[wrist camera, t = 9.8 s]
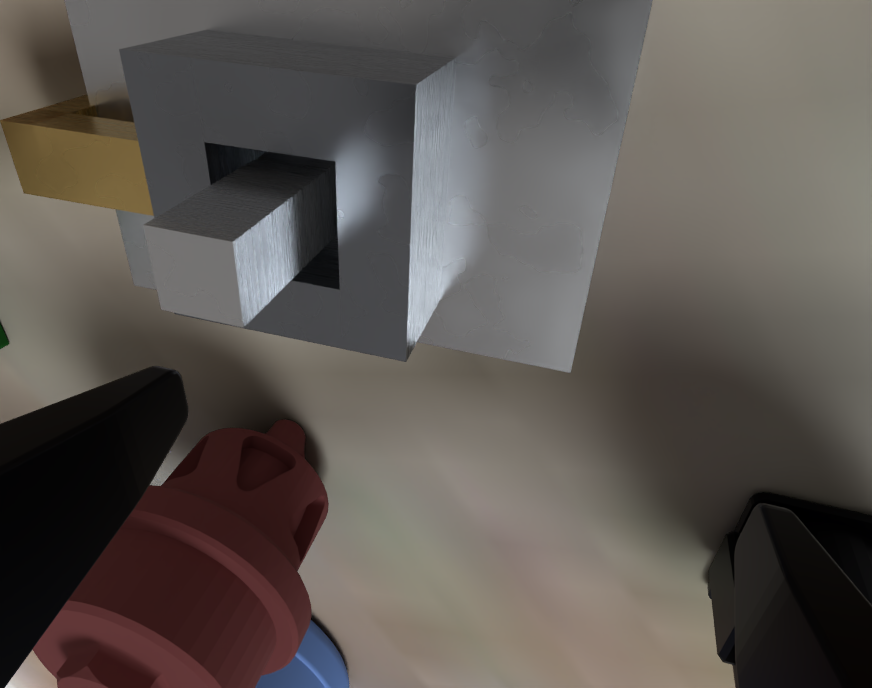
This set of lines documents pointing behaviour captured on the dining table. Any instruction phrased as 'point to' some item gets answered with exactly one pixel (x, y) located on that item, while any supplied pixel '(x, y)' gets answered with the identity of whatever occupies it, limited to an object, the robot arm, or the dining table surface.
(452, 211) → the square socket plate
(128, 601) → the mechanical component
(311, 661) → the water jug
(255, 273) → the gray square beam
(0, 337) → the milk carton
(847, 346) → the dining table surface
